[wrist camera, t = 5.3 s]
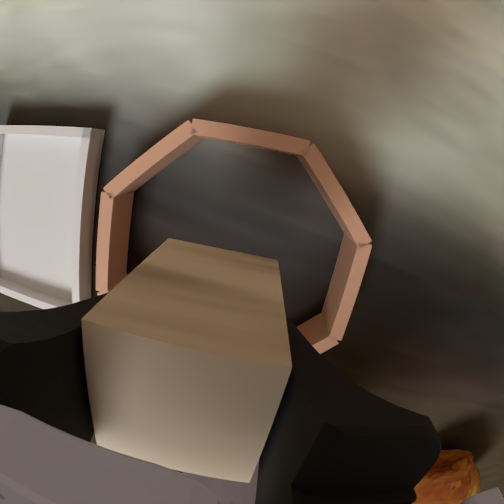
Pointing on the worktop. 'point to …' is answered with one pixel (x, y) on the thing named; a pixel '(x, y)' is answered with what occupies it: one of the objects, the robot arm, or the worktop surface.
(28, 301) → the tray
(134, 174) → the pinkish-brown octagonal ring
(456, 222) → the worktop surface
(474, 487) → the croissant
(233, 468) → the beech peg
